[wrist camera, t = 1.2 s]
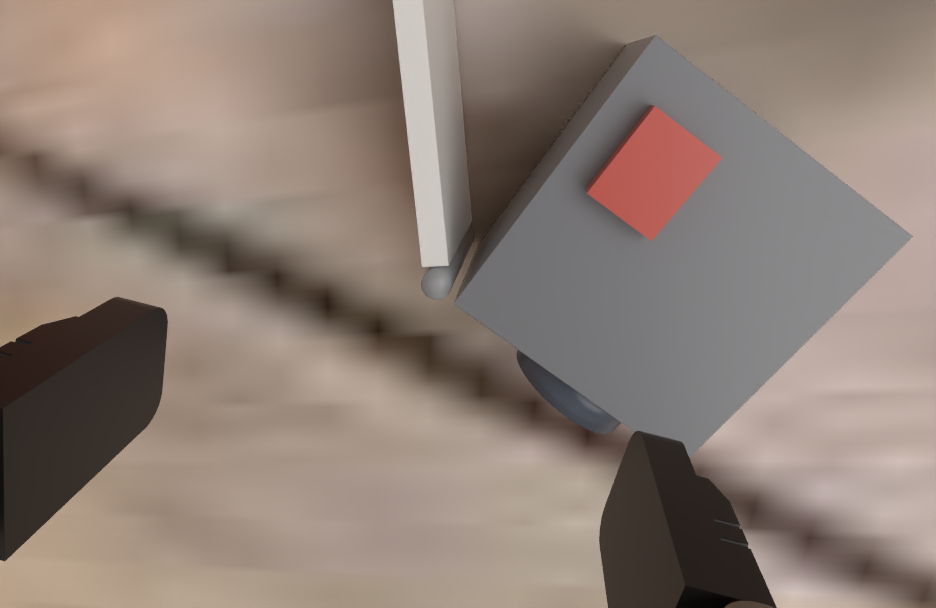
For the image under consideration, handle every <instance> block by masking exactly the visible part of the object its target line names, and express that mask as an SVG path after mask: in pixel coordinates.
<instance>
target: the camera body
mask: <svg viewBox="0 0 936 608" xmlns="http://www.w3.org/2000/svg"><path fill="white" fill-rule="evenodd" d="M912 237H913V236H912V235H911V234H909V233H908V232H907V231H906V230H904V229H903V228H902V227H900V226H899V225H898V224H897V223H895V222H894V221H893V220H891V219H890V218H889V217H888V216H886V215H885V214H884V213H883V212H881V211H880V210H879V209H877V208H876V207H875V206H874V205H872V204H871V203H870V202H868V201H867V200H866V199H865V198H863V197H862V196H861V195H860V194H858V193H857V192H856V191H854V190H853V189H852V188H851V187H849V186H848V185H847V184H845V183H844V182H843V181H842V180H840V179H839V178H838V177H837V176H835V175H834V174H833V173H831V172H830V171H829V170H828V169H826V168H825V167H824V166H822V165H821V164H820V163H819V162H817V161H816V160H815V159H814V158H812V157H811V156H810V155H808V154H807V153H806V152H805V151H803V150H802V149H801V148H799V147H798V146H797V145H796V144H794V143H793V142H792V141H790V140H789V139H788V138H787V137H785V136H784V135H783V134H782V133H780V132H779V131H778V130H776V129H775V128H774V127H773V126H771V125H770V124H769V123H767V122H766V121H765V120H764V119H762V118H761V117H760V116H759V115H757V114H756V113H755V112H753V111H752V110H751V109H750V108H748V107H747V106H746V105H744V104H743V103H742V102H741V101H739V100H738V99H737V98H736V97H734V96H733V95H732V94H730V93H729V92H728V91H727V90H725V89H724V88H723V87H721V86H720V85H719V84H718V83H716V82H715V81H714V80H713V79H711V78H710V77H709V76H707V75H706V74H705V73H704V72H702V71H701V70H700V69H698V68H697V67H696V66H695V65H693V64H692V63H691V62H690V61H688V60H687V59H686V58H684V57H683V56H682V55H681V54H679V53H678V52H677V51H675V50H674V49H673V48H672V47H670V46H669V45H668V44H667V43H665V42H664V41H663V40H661V39H660V38H659V37H658V36H656V35H655V36H651V37H648V38H645V39H642V40H639V41H636V42H633V43H629V44H627V45H626V46H625V47H624V49H623V50H622V51H621V53H620V54H619V55H618V57H617V58H616V59H615V61H614V62H613V64H612V65H611V66H610V68H609V69H608V70H607V72H606V73H605V74H604V76H603V77H602V78H601V80H600V81H599V82H598V84H597V85H596V86H595V88H594V89H593V91H592V92H591V93H590V95H589V96H588V97H587V99H586V100H585V101H584V103H583V104H582V105H581V107H580V108H579V109H578V111H577V112H576V114H575V115H574V116H573V118H572V119H571V120H570V122H569V123H568V124H567V126H566V127H565V128H564V130H563V131H562V132H561V134H560V135H559V136H558V138H557V139H556V141H555V142H554V143H553V145H552V146H551V147H550V149H549V150H548V151H547V153H546V154H545V155H544V157H543V158H542V159H541V161H540V162H539V164H538V165H537V166H536V168H535V169H534V170H533V172H532V173H531V174H530V176H529V177H528V178H527V180H526V181H525V182H524V184H523V185H522V187H521V188H520V189H519V191H518V192H517V193H516V195H515V196H514V197H513V199H512V200H511V201H510V203H509V204H508V205H507V207H506V208H505V209H504V211H503V212H502V214H501V215H500V216H499V218H498V219H497V220H496V222H495V223H494V224H493V226H492V227H491V228H490V230H489V231H488V232H487V234H486V235H485V237H484V238H483V239H482V241H481V242H480V243H479V245H478V247H477V250H476V252H475V254H474V257H473V259H472V261H471V264H470V266H469V269H468V271H467V273H466V276H465V278H464V280H463V283H462V285H461V287H460V290H459V292H458V295H457V297H456V299H455V302H454V305H456V306H457V307H458V308H460V309H461V310H463V311H464V312H466V313H467V314H468V315H470V316H471V317H473V318H474V319H475V320H477V321H478V322H480V323H481V324H483V325H484V326H485V327H487V328H488V329H490V330H491V331H492V332H494V333H495V334H497V335H498V336H500V337H501V338H502V339H504V340H505V341H507V342H508V343H509V344H511V345H512V346H514V347H515V348H517V349H518V350H517V360H518V363H519V365H520V367H521V369H522V371H523V373H524V374H525V376H526V377H527V379H528V380H529V382H530V383H531V384H532V385H533V387H534V388H535V389H536V390H537V391H538V392H539V393H540V394H541V395H542V396H543V397H544V398H545V399H546V400H547V401H548V402H549V403H550V404H551V405H552V406H553V407H555V408H556V409H557V410H558V411H559V412H561V413H562V414H563V415H565V416H566V417H567V418H569V419H570V420H572V421H573V422H575V423H577V424H578V425H580V426H582V427H584V428H586V429H588V430H591V431H593V432H596V433H601V434H609V433H611V432H613V431H614V430H615V429H616V428H617V426H618V425H619V424H620V423H623V424H624V425H626V426H627V427H628V428H630V429H631V430H633V431H634V432H636V431H642V432H646V433H650V434H654V435H658V436H662V437H666V438H670V439H674V440H678V441H681V442H682V443H683V444H684V446H685V448H686V451H687V453H688V456H689V458H690V457H691V456H692V455H693V454H694V453H695V452H696V451H697V450H698V449H699V448H700V447H701V446H702V445H703V444H704V443H705V442H706V441H707V440H708V439H709V438H710V437H711V436H712V435H713V434H714V433H715V432H716V431H717V430H718V429H719V428H720V427H721V426H722V425H723V424H724V423H725V422H726V421H727V420H728V419H729V418H730V417H731V416H732V415H733V414H734V413H735V412H736V411H737V410H738V409H739V408H740V407H741V406H742V405H743V404H744V403H745V402H746V401H747V400H748V399H749V398H750V397H752V396H753V395H754V394H755V393H756V392H757V391H758V390H759V389H760V388H761V387H762V386H763V385H764V384H765V383H766V382H767V381H768V380H769V379H770V378H771V377H772V376H773V375H774V374H775V373H776V372H777V371H778V370H779V369H780V368H781V367H782V366H783V365H784V364H785V363H786V362H787V361H788V360H789V359H790V358H791V357H792V356H793V355H794V354H795V353H796V352H797V351H798V350H799V349H800V348H801V347H802V346H803V345H804V344H805V343H806V342H807V341H808V340H809V339H810V338H811V337H812V336H813V335H814V334H815V333H816V332H817V331H818V330H819V329H820V328H821V327H822V326H823V325H824V324H825V323H826V322H827V321H828V320H829V319H830V318H831V317H832V316H833V315H834V314H835V313H836V312H837V311H838V310H839V309H840V308H841V307H842V306H843V305H844V304H845V303H846V302H847V301H848V300H849V299H850V298H851V297H852V296H854V295H855V294H856V293H857V292H858V291H859V290H860V289H861V288H862V287H863V286H864V285H865V284H866V283H867V282H868V281H869V280H870V279H871V278H872V277H873V276H874V275H875V274H876V273H877V272H878V271H879V270H880V269H881V268H882V267H883V266H884V265H885V264H886V263H887V262H888V261H889V260H890V259H891V258H892V257H893V256H894V255H895V254H896V253H897V252H898V251H899V250H900V249H901V248H902V247H903V246H904V245H905V244H906V243H907V242H908V241H909V240H910V239H911V238H912Z"/></svg>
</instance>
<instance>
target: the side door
mask: <svg viewBox="0 0 936 608" xmlns="http://www.w3.org/2000/svg"><path fill="white" fill-rule="evenodd" d="M393 8H394V17H395V26H396V36H397V45H398V54H399V63H400V72H401V81H402V90H403V99H404V108H405V117H406V126H407V135H408V144H409V153H410V162H411V171H412V180H413V189H414V199H415V208H416V217H417V226H418V235H419V244H420V253H421V262H422V267H429V269H428V271H427V272H426V274H425V276H424V277H423V279H422V282H421V286H422V290H423V292H424V293H425V295H426V296H428V297H429V298H431V299H442V298H444V297H446V296H447V295H448V294H449V292H450V290H451V288H452V286H453V283H454V281H455V279H456V277H457V275H458V273H459V270H460V268H461V266H462V264H463V262H464V260H465V257H466V255H467V253H468V251H469V249H470V247H471V244H472V242H473V240H474V231H473V229H472V228H471V227H470V224H471V222H472V213H471V201H470V189H469V177H468V165H467V153H466V142H465V130H464V118H463V106H462V94H461V82H460V70H459V58H458V46H457V34H456V22H455V10H454V0H393Z"/></svg>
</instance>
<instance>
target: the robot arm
mask: <svg viewBox="0 0 936 608" xmlns="http://www.w3.org/2000/svg"><path fill="white" fill-rule="evenodd" d="M167 324H168V321H167V314H166V312H165V310H164V309H162V308H160V307H156V306H152V305H148V304H144V303H140V302H136V301H132V300H128V299H124V298H120V297H115V298H112V299H110V300H108V301H107V302H105V303H103V304H101V305H100V306H98V307H96V308H94V309H93V310H91V311H89V312H87V313H86V314H84V315H82V316H80V317H76V316H75V317H71V318H67V319H63V320H59V321H55V322H51V323H47V324H43V325H41V326H39V327H37V328H35V329H33V330H31V331H29V332H28V333H26V334H24V335H22V336H20V337H18V338H16V341H15V342H12V341H11V342H9V343H7V344H5V345H4V346H2V347H0V560H2V561H6V560H7V559H8V558H9V557H10V556H11V555H12V554H13V553H14V552H15V551H16V550H17V549H18V548H19V547H20V546H22V545H23V544H24V543H25V542H26V541H27V540H28V539H29V538H30V537H31V536H32V535H33V534H34V533H35V532H36V531H37V530H38V529H39V528H40V527H42V526H43V525H44V524H45V523H46V522H47V521H48V520H49V519H50V518H51V517H52V516H53V515H54V514H55V513H56V512H57V511H58V510H59V509H61V508H62V507H63V506H64V505H65V504H66V503H67V502H68V501H69V500H70V499H71V498H72V497H73V496H74V495H75V494H76V493H77V492H78V491H80V490H81V489H82V488H83V487H84V486H85V485H86V484H87V483H88V482H89V481H90V480H91V479H92V478H93V477H94V476H95V475H96V474H97V473H98V472H100V471H101V470H102V469H103V468H104V467H105V466H106V465H107V464H108V463H109V462H110V461H111V460H112V459H113V458H114V457H115V456H116V455H117V454H119V453H120V452H121V451H122V450H123V449H124V448H125V447H126V446H127V445H128V444H129V443H130V442H131V441H132V440H133V439H134V438H135V437H136V436H137V435H139V434H140V433H141V432H142V431H143V430H144V429H145V428H146V427H147V426H148V424H149V423H150V422H151V420H152V418H153V417H154V415H155V413H156V411H157V408H158V406H159V403H160V399H161V395H162V387H163V374H164V362H165V350H166V338H167ZM739 526H740V524H739V522H738V519H737V517H736V515H735V513H734V510H733V508H732V506H731V504H730V502H729V500H728V499H727V498H726V497H725V496H724V495H723V494H722V493H721V492H720V491H719V490H718V489H717V488H716V486H715V485H714V484H713V483H712V482H711V481H710V480H709V479H707V478H703V477H699V476H696V474H695V471H694V469H693V466H692V464H691V461H690V458H689V456H688V453H687V451H686V448H685V446H684V444H683V443H682V442H681V441H678V440H674V439H670V438H666V437H662V436H658V435H654V434H650V433H646V432H642V431H636V432H635V433H634V434H633V435H632V437H631V439H630V441H629V443H628V446H627V448H626V451H625V454H624V456H623V459H622V462H621V464H620V467H619V470H618V472H617V475H616V478H615V480H614V483H613V486H612V488H611V491H610V494H609V497H608V499H607V502H606V505H605V508H604V511H603V515H602V520H601V526H600V537H599V542H600V551H601V558H602V566H603V573H604V581H605V588H606V595H607V603H608V608H777V607H776V605H775V603H774V601H773V598H772V596H771V594H770V592H769V589H768V587H767V585H766V583H765V580H764V578H763V576H762V574H761V571H760V569H759V567H758V565H757V562H756V560H755V558H754V556H753V553H752V551H751V549H749V548H748V542H747V540H746V538H745V535H744V533H743V531H742V529H739Z"/></svg>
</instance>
